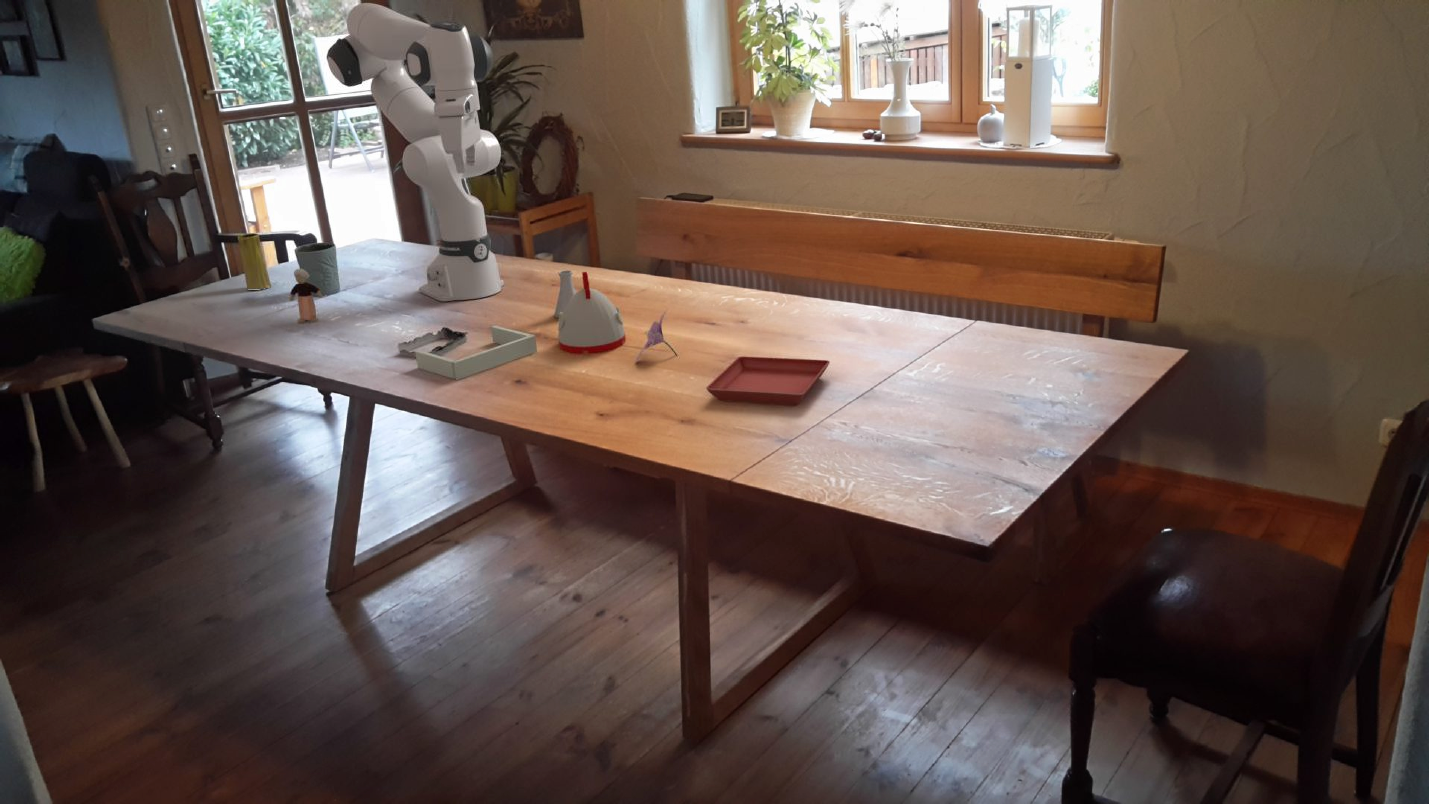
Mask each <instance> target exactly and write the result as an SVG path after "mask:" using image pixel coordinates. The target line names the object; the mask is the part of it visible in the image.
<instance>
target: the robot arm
mask: <svg viewBox="0 0 1429 804" xmlns="http://www.w3.org/2000/svg"><path fill="white" fill-rule="evenodd" d="M346 28H347V29H346V30H347V31H348V35H347V36H345V37H343V38H338V39H337V40H336V42H335V43H333V44H332V45H331V46H330V47H329V49H328V50H327V53H326V60H327V64H328V67H329V70H330V72H331V73H332V75H333V77H334V78H335V79H336V80H337V81H338V82H340V83H341V84H342V85H343V86H345V87H350V88H351V87H355V86H356V87H357V86H359V85H362V84H363V83H364V82H367V81H369V80H371V83H370V93H371V96H372V97H373V99H374V101H375V103H376V104H377V106H378V108H379V109H380V110H381V112H382V113H383V115H384V116H385V118H386V119H388V121H389V122H390V123H391V124H392V125H393V126H394V127H395V128H396V130H398V132H399V134H401V135H402V137H403V138H405V140H407V142H409V144H408V145H407V146H406V147H405V148H404V151H403V153H402V154H403V155H402V158H401V159H402V168H403V170H404V172H405V175H406V176H407V178H409V180H410V181H411V182H413V183H414V184H416V185H417V186H419V187H420V188H422V189H423V190H424V191H425V193H426V194H427V195H428V196H429V198H430V199H431V201H432V203H433V205H434V208H435V211H436V216H437V219H438V220H437V221H438V224H439V225H438V227H439V230H440V236H441V238H440V239H437V240H435V242H438V243H436V246H439V248H438V253H439V254H438V255H437V256H436V257H435V258H434V259H433V261H432V262H431V263H430V264H429V265H428V266H427V268H426V281H427V283H425V284H423V285H421V286H419V287H418V292H419V293H421V294H423V295H426V296H428V297H431V299H432V298H433V299H435V300H437V301H440V302H450V301H462V300H465V301H466V300H475V299H481V298H485V297H490V296H493V295H495V294H497V293H499V292H500V291H501V290H502V289H503V288H502V286H504V285H505V282H504V280H503V279H501V277H500V274H499V273H500V272H499V269H498V263H497V260H496V256H495V253H493V252H492V251H491V248H492V244H491V242H492V241H491V238H490V234H489V233H488V231H487V224H486V216H485V208H484V204H483V203H482V202H481V200H479V198H477V197H476V196H474V195H471V194H469V193H467V192H466V190H465V188H464V186H463V182H462V180H463V179H468V178H473V177H477V176H481V175H484V174H486V173H488V172H490V171H492V170H494V169H495V168H497V167H498V165H499V164H500V162H501V161H500V160H501V156H502V149H501V145H500V143H499V140H498V138H497V137H496V136H495V135H494V134H493V132H491V131H489V130H485V129H481V128H480V127H481V126H480V122H479V115H478V111H479V110H481V106H480V99H479V98H480V97H479V90H478V84H477V83H481V82H483V81H485V79H487V77H488V76H489V75H490V73H491V71H492V68H493V67H494V54H493V50H492V48H491V46H490V45H489V43H488V42H487V41H486V40H485V39H484V38H483V37H482V36H481V35H479V34H478V33H470V34H469V32H468V29H467V27H466V26H465V24H462V23H461V22H459V21H449V20H448V21H436V22H434V23H431V24H429V23H425V22H423V21H420V20H418V19H415V18H412V17H408V16H406V15H403V14H402V13H399V12H396V11H394V10H393V9H390V8H389V7H386V6H384V5H380V4H377V3H371V2H363V3H359V4H357V5H355V6H354V7H352V8H351V10H349V12H348V14H347V17H346ZM405 66H406V67H405ZM406 68H407V69H406ZM419 85H420V86H428V87H430V86H431V87H432V86H434V96H435V102H434V100H433V99H432V98H431V97H430V96H429V95H428V94H427V93H426V92H425V91H424V90H423V89H422V88H421V87H420V86H419Z"/></svg>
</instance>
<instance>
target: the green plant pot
mask: <svg viewBox="0 0 1429 804" xmlns="http://www.w3.org/2000/svg"><path fill="white" fill-rule="evenodd" d="M294 254H295V258H296V262H297V265H298V267H299V268H298V269H303V270H305V271H307V273H308V274H309V275H310V276H309V278H308V279H307V282H306V283H309V284H312V285H314V286H316V287H317V288H318V289H319V291H320V292H321V294H322V295H323V297H326V296H325V295H327V296H330V294H332V295H334V294H337V293H339V292H340V291H341V285H340V279H339V277H340V275H339V268H338V260H337V259H338V258H337V246H336V244H335V243H334V242H314V243H308V244H303V245H300V246H297V247H295V249H294ZM311 294H312V296H314V297H313V298H315V297H316V298H317V297H318V295H317V294H315V293H312V292H311ZM318 298H319V297H318Z"/></svg>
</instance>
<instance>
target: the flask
mask: <svg viewBox="0 0 1429 804" xmlns="http://www.w3.org/2000/svg"><path fill="white" fill-rule="evenodd" d="M557 273H558V275H559V279H560V285H559V293H558V297H557V302H556V306H555V311H554V316H555V318H559V313H560V312H564V309H565V307H566V305H567V303H568V302H569V300H570V299H571V298H572V297H573V295H575V294H576V293H577V291H576V289H575V286H574V283H573V279H572V275H573V271H572V270H568V269H567V270H560V271H558V272H557Z"/></svg>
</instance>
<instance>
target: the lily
mask: <svg viewBox="0 0 1429 804" xmlns="http://www.w3.org/2000/svg"><path fill="white" fill-rule="evenodd" d="M667 311H668V309H666V310H665V311H664V312H663V313H662V315H660V318H659V321H657V320H654V321H653V322H652V324H651V326H650V328H649V329H648V330H647V331H645V333H644V335H646V337H647V341H646V342H645V344H644V346H643V348H642V349H641V350H640V351H639V353H638V356H637V357H636V360H635V365H636V363H637V362H638V360H639V358H640V357H641V355H642V353H643V352H644V351H645V350H646V349H648V348H650V347H653V346H657V345H658V344H661V343H664V344H666V345H667V346H668V347H669V349H670V350H671V351H672V352H673V354H674V355H675V356H676V357H678V354H677V352H676V351H675V350H674V348H673V347H672V346H671V345H670V343H668V342H667V341H666V340H665V339H664V334H663V330H662V329H663V327H662V323H663V319H664V317H665V316H666V314H667Z"/></svg>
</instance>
